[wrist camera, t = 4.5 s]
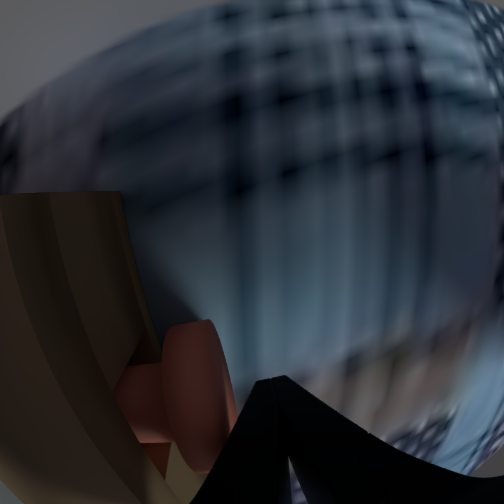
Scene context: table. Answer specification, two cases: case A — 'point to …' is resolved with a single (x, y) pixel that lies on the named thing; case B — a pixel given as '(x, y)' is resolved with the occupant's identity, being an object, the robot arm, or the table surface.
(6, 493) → the white curved piece
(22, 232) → the block
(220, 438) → the pin
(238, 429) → the robot arm
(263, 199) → the table surface
